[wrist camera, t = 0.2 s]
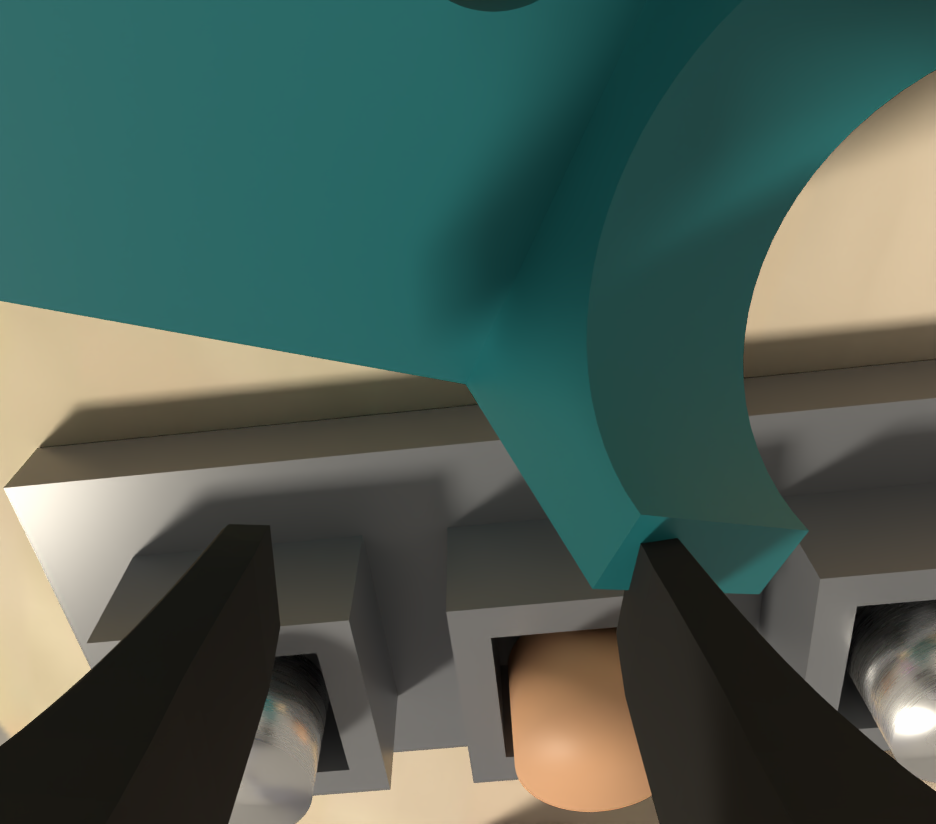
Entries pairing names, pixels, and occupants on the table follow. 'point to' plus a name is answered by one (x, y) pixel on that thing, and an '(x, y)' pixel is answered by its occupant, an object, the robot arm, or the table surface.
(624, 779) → the middle knob
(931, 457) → the control panel
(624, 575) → the teal l-shaped bracket
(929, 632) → the knob
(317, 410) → the table surface
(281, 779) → the knob
